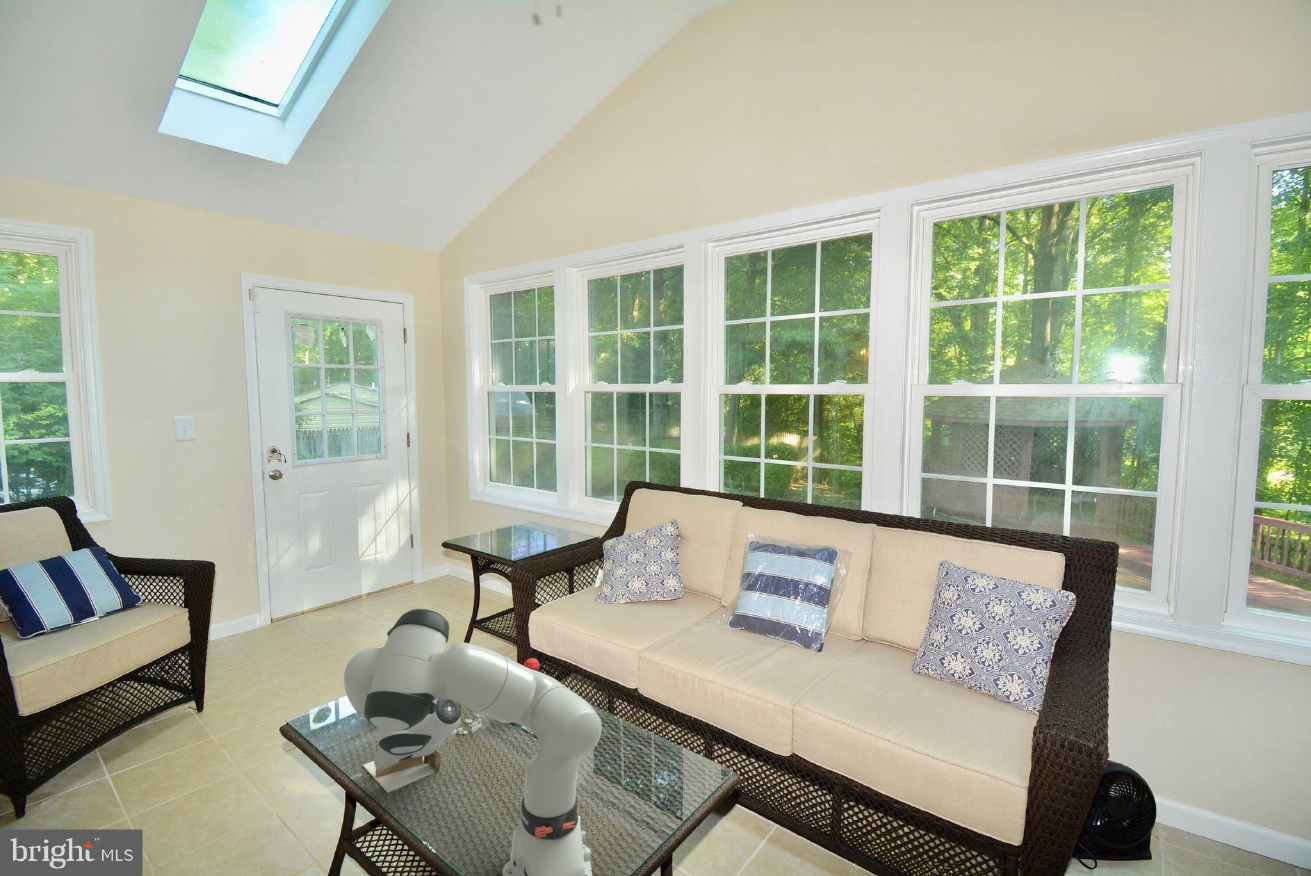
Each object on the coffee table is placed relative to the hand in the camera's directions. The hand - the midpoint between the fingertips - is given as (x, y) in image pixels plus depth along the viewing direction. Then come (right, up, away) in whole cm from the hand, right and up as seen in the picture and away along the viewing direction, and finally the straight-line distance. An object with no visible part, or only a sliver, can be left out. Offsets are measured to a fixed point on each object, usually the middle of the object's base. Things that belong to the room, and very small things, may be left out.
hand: (407, 756), depth 156 cm
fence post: (+5, -5, +3) cm, 8 cm away
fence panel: (-2, -4, 0) cm, 4 cm away
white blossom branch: (+5, -4, +18) cm, 19 cm away
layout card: (-2, -4, +2) cm, 5 cm away
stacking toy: (+25, -5, +32) cm, 41 cm away
